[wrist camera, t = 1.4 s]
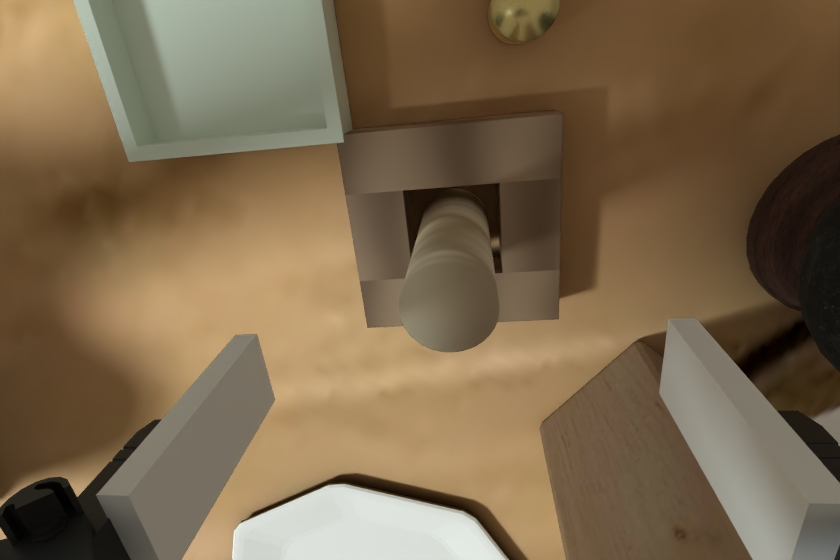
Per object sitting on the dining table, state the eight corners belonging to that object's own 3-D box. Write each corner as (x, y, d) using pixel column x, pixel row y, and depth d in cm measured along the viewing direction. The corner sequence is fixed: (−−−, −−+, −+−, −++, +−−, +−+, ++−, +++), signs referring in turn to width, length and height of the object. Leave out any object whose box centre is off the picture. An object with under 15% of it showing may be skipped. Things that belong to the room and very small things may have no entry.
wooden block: (637, 335, 32) (860, 690, 14) (738, 412, 34) (1053, 815, 16) (535, 424, 36) (607, 793, 18) (631, 489, 38) (786, 885, 20)
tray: (154, 154, 30) (128, 162, 28) (74, -97, 25) (34, -114, 22) (353, 135, 28) (344, 142, 26) (312, -137, 23) (296, -159, 21)
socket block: (374, 309, 33) (367, 327, 31) (346, 129, 28) (335, 135, 26) (552, 301, 32) (558, 319, 29) (554, 109, 27) (562, 113, 24)
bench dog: (488, 47, 26) (492, 45, 22) (486, -17, 24) (490, -32, 21) (545, 41, 25) (559, 37, 22) (546, -25, 24) (560, -41, 20)
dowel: (426, 251, 31) (404, 354, 20) (420, 191, 29) (393, 266, 18) (488, 248, 30) (501, 350, 20) (485, 185, 29) (497, 260, 18)
